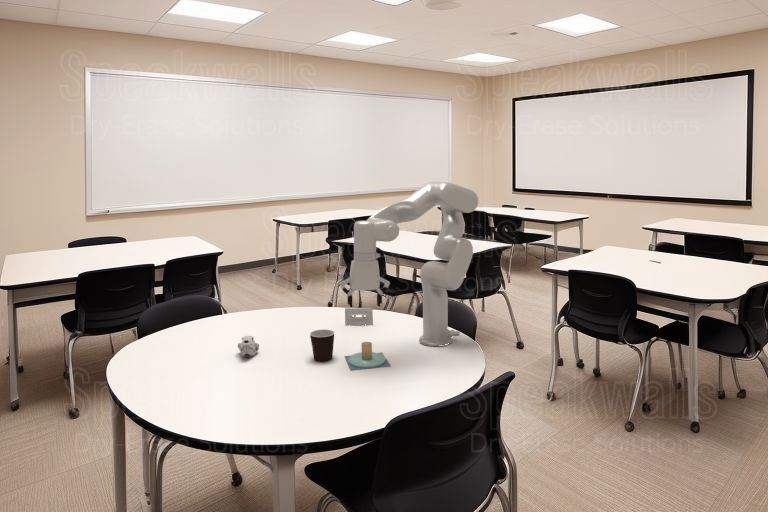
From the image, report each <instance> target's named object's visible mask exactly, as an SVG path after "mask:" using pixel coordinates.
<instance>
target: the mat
mask: <svg viewBox="0 0 768 512" xmlns="http://www.w3.org/2000/svg"><path fill="white" fill-rule="evenodd" d="M379 353H380V354H382V355H384V352H379ZM350 356H351V355H344V359H345V361H346V364H347V366H348V368H349V371H350V372H351V371H362V370H370V369H371V370H372V369H380V368H381V369H382V368H391V367H392V366H391V364H390V363H389V361H388V359H387V358H386V361H385V363H384V364H383V365H381V366H378V367H374V368H357V367H354V366H351V365H350V364H349V362H348V358H349V357H350Z"/></svg>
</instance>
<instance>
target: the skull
mask: <svg viewBox="0 0 768 512" xmlns="http://www.w3.org/2000/svg"><path fill="white" fill-rule="evenodd" d="M241 340H242V341H241V342H239V343H237V348H238V350H239V351H240V352H239V354H240V355H241V358H245V355H246V354H247V355H250V356H255V355H256V354H258V353H257V352H258V351H259V349H260V344H259V343H257V342H256V341H255V337H254V336H252V335H245V336H242V337H241Z"/></svg>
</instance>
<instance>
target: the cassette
mask: <svg viewBox="0 0 768 512" xmlns="http://www.w3.org/2000/svg"><path fill="white" fill-rule="evenodd" d="M373 314H374V313H373V308H372V307H345V308H344V321H345V322H344V323H345V324H344V325H345V326H348V327H356V326H357V327H366V326H365V324H366V325H372V326H373V325H374V320H373V318H374V315H373ZM359 316H360V317H359ZM349 325H350V326H349ZM362 325H364V326H362Z"/></svg>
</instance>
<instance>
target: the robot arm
mask: <svg viewBox="0 0 768 512" xmlns="http://www.w3.org/2000/svg"><path fill="white" fill-rule="evenodd" d="M478 205H479V197H478V195H477V193H476V191H474V190H472V189H470V188H467V187H464V186H460V185H458V184H455V183H452V182H448V181H429V182H427V183H424V185H422V186H421V187H419V188H418V189H417V190H415V191H414V192H413V193H411V194H410V195H409V196H407V197H406V198H404V199H403V200H400V201H397V202H395V203H392V204H390V205H388V206H386V207H383V208H381V209H379V210H378V211H377V212H375V213H373V214H371V216H369V217H368V218H367V219H366V220H357V221H355V222H354V225H353V260H351V261H350V262H351V264H350V270H349V277H347V278H346V279H344V280H342V281H340V282H339V286H340V288H341V290H342V292H344V293H345V294H346V295H347V305H349V308H353V293H354V292H355V291H360V292H361V291H376V292H377V293H376V305H377V307H381V304H383V294H384V293H386V291H387V290H388V288H389V287H390V284H391V282H390V281H389V280H387V279H385V278H383V277H381V276H380V267H379V266H380V265H379V261H378V258H381V253H378V252H377V242H386V243H387V242H393V241H395V240H396V239H397V238H398V236H399V234H400V227H399V225H398V224H402V223H409V222H413V221H416V220H418V219H420V218H421V217H422V216H424V214H426V213H427V212H428V211H430V210H431V209H433V208H434V207H436V206H439V207H440V210H441V213H442V216H443V222H442V225H441V227H440V231H439V234H438V236H437V237H436V241H435V243H434V246H433V254H434V256H435V257H436V258H437V259H439V260H443V261H446V262H448V263H445V262H442V261H437V260H431V261H427V262H425V263H424V264H423V265H422V266H421V269H420V273H419V275H420V283H421V288H422V335H421V336H420V337H418V342H419V343H420V344H421V343H422V345H423V344H424V346H427V345H430V346H429V347H440V346H439V345H445V344H448V343H450V342H451V340H453V339H452V337H460V335H461V333H460V330H454V329H451V330H449V329H448V327H449V326H448V322H449V321H448V320H449V319H448V314H449V313H448V312H449V309H448V308H449V307H448V306H449V305H448V303H449V301H448V300H449V298H448V297H449V296H448V291H456V290H457V289H459V288H460V286H461V285H462V284H463V282H464V280H465V277H466V274H467V272H468V270H469V267H470V264H471V262H472V258H473V254H474V248H473V247H474V246H473V244H472V242H471V240H469V239H467V238H465V237H463V233H464V231H465V226H466V224H465V223H466V222H465V220H464V219H465V218H464V216H463V213H465V214H466V213H467V214H469V213H472V212H474V211H476V209H477V208H478ZM381 283H383V286H382V288H381ZM348 284H349V289H348V288H346V285H348ZM451 343H452V342H451ZM451 343H450V344H451ZM448 345H449V344H448ZM445 346H446V345H445Z"/></svg>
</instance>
